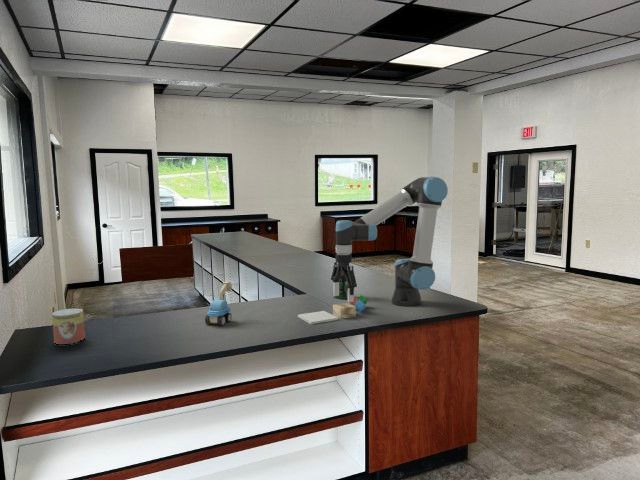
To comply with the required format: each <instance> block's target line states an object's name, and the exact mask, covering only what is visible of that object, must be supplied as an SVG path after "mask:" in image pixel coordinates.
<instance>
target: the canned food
mask: <svg viewBox="0 0 640 480" xmlns="http://www.w3.org/2000/svg"><path fill="white" fill-rule="evenodd" d="M51 317H52V319H51V320H52V331H53V344H54V343H56V344H68V343H74V342H78V341H80V340H83V339H84V338H85V339H86V335H85V334H86V333H85V321H84V319H85V318H84V309H82V308H75V307H73V308H64V309H59V310H56V311H53V312H52V313H51ZM56 344H55V345H56Z"/></svg>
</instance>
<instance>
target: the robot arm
mask: <svg viewBox="0 0 640 480" xmlns="http://www.w3.org/2000/svg"><path fill="white" fill-rule="evenodd" d="M399 190H400V191H399V192H398V193H397V194H395V195H393V196H391V198H389V199H388V200H386V201H384V202H383V203H381V204H380V205H378V206H377V207H375V208H374V209H372V210H371V211H369V212H367V213H366V214H364V215H363V216H361V217H359V218H358V219H356V220H355V221H352V220H345V219H344V220H343V219H342V220H337V221H336V223H335V230H334V231H335V247H334V248H335V253H336V254H335V262H334V263H333V266H334V269H333V268H332V273H331V277H330V280H331V281H332V283H333V284H332V285H333V290H332V291H333V292H332V293H333V294H332V295H333V297H334V296H339V279H340V277H341V275H342V274H343V275H344V276H345V278H346V281H347V283H348V286H349V287H348V299H347V303H349V302H354V297H355V296H354V295H355V293H354V292H355V288H357V287H358V285H357V279H356V275H355V270H354V265H350V263H352V261H353V260H352V259H353V257H352V253H353V243H352V242H354V241H355V242H356V241H357V242H358V241H361V242H362V241H363V242H364V241H367V242H368V241H369V242H370V241H375V240H376V239H377V237H378V228H377V226H378V225H379V224H381V223H383V222H384V221H385V220H388V219H389V218H390V217H392V216H394V215H395V214H396V213H397V212H400V211H401V210H403V209H404V208H406V207H407V206H412V205H414V204H416V205H417V206H418V207H419V208H418V216H417V224H416V230H415V235H414V236H415V238H414V244H413V252H412V256H411V257H410V258H398V259H396V260H395V265H394V278H395V279H394V281H395V282H394V284H395V285H394V290H393V294H392V297H391V303H392V304H393V305H396V306H400V307H417V306H419V305H421V304H422V297H421V296H422V295H421V293H420V290H421V291H424V290H427V289H429V288H431V287H432V286H433V284H434V283H435V281H436V272H435V271H434V269H433V266H434V262H433V260H432V251H433V244H434V243H433V242H434V236H435V229H436V221H437V217H438V210H440V208H441V207H442V204H443V203H442V202H443V200H445V199H446V198H447V196H448V192H449V191H448V190H449V189H448V185H447V182H445V180H444V179H442V178H440V177H438V176H425V177H418V178H416V179H414V180H413V181H411V182H410V183H408V184H407V185H405V186H404V187H402V188H400V189H399Z"/></svg>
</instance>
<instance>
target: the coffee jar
mask: <svg viewBox="0 0 640 480" xmlns="http://www.w3.org/2000/svg"><path fill="white" fill-rule="evenodd" d="M333 269H334V265H333V267H332V270H333ZM348 287H349V286H348V283H347V281H346V278H345V276H344V275H343V274H342V275H341V277H340V279H339V296H333V298H335V299H340V300H348Z"/></svg>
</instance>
